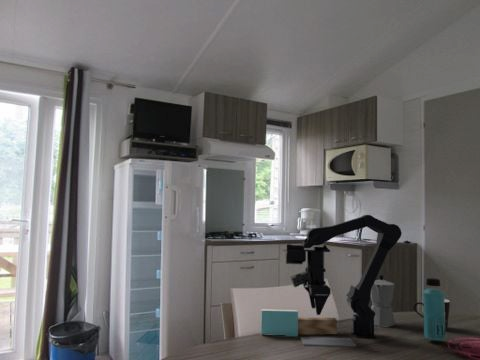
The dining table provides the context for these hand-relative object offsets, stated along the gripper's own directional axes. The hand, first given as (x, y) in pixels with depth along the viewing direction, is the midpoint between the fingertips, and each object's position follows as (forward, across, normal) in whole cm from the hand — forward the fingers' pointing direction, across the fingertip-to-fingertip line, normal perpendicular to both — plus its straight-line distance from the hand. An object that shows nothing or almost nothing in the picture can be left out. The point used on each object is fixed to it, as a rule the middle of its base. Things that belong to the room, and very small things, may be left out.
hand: (315, 311), depth 135 cm
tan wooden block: (+7, 0, 0) cm, 7 cm away
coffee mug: (+8, -11, +45) cm, 47 cm away
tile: (+7, +3, -13) cm, 15 cm away
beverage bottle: (+8, +7, +37) cm, 38 cm away
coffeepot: (+8, -15, +28) cm, 32 cm away
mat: (+7, +10, +2) cm, 12 cm away
